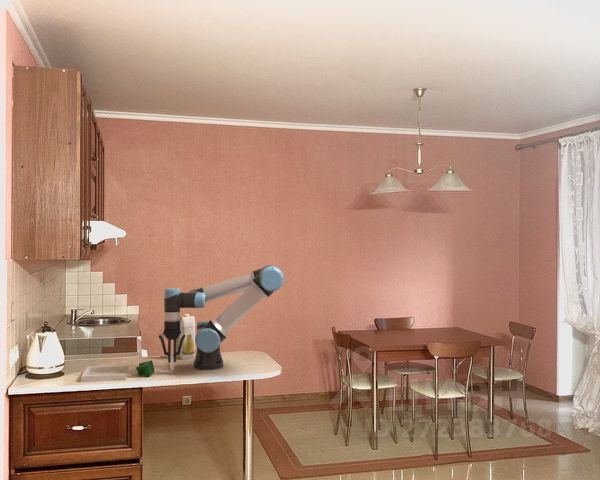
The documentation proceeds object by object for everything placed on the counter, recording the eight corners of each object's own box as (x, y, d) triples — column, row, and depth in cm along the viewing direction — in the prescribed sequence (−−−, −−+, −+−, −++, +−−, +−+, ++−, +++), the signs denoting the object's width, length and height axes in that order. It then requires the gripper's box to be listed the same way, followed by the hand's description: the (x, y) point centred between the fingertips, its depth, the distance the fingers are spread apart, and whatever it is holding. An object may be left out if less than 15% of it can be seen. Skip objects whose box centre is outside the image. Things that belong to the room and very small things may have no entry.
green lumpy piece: (143, 382, 300) (141, 363, 304) (155, 378, 300) (153, 360, 304) (136, 378, 289) (133, 359, 292) (148, 374, 289) (146, 355, 293)
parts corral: (128, 370, 306) (128, 365, 306) (125, 379, 286) (125, 374, 286) (87, 371, 302) (87, 366, 302) (81, 381, 282) (81, 376, 282)
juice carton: (181, 360, 330) (181, 315, 329) (174, 357, 336) (174, 313, 336) (196, 358, 336) (196, 313, 335) (189, 355, 342) (189, 312, 342)
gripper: (185, 319, 304) (185, 367, 304) (158, 319, 301) (158, 368, 301) (186, 321, 296) (185, 370, 297) (158, 321, 294) (157, 371, 294)
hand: (172, 369), depth 299 cm, fingers closed
